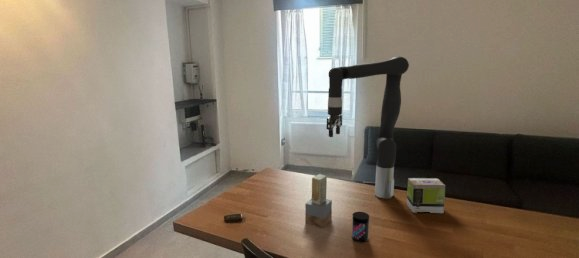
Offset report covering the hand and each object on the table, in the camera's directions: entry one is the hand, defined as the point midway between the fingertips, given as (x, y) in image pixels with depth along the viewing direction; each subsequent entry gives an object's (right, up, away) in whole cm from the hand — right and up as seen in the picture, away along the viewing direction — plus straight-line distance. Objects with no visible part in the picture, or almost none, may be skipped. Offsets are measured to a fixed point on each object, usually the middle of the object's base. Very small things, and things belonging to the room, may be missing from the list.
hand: (334, 135), depth 162 cm
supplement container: (+5, -42, -37) cm, 56 cm away
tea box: (+43, -37, -11) cm, 58 cm away
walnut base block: (-11, -40, -22) cm, 47 cm away
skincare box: (-11, -30, -24) cm, 40 cm away
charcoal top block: (-11, -35, -23) cm, 43 cm away
